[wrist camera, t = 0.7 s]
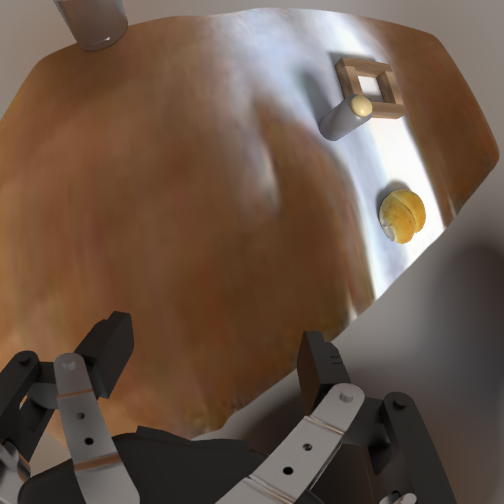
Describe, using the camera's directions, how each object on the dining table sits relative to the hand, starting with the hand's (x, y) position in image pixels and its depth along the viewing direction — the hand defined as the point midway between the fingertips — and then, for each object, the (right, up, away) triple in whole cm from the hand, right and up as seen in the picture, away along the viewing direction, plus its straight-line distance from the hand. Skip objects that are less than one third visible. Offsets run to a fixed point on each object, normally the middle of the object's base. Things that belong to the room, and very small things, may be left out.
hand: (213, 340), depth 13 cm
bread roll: (+26, +10, +31) cm, 42 cm away
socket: (+21, +31, +29) cm, 48 cm away
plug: (+14, +23, +28) cm, 39 cm away
